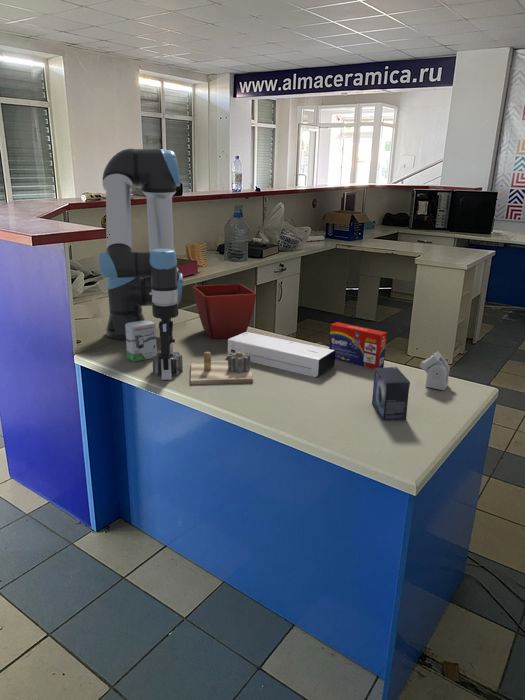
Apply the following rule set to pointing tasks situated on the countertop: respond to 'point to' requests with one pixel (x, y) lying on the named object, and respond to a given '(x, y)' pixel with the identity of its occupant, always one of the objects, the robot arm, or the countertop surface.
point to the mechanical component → (436, 371)
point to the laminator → (283, 353)
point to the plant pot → (224, 308)
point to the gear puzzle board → (222, 370)
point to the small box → (390, 393)
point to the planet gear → (175, 363)
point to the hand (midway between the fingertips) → (168, 371)
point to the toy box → (358, 345)
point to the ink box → (140, 340)
